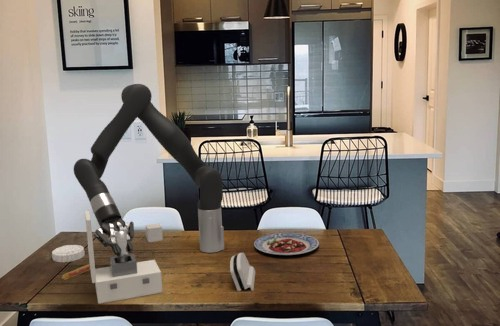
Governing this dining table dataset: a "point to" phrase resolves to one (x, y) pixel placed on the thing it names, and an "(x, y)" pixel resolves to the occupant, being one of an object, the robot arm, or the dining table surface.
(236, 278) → the white rounded block
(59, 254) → the mooncake
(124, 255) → the rod
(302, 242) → the ceramic plate
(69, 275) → the chocolate bar
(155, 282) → the white fixture base
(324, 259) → the dining table surface
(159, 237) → the grey cube
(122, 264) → the socket
